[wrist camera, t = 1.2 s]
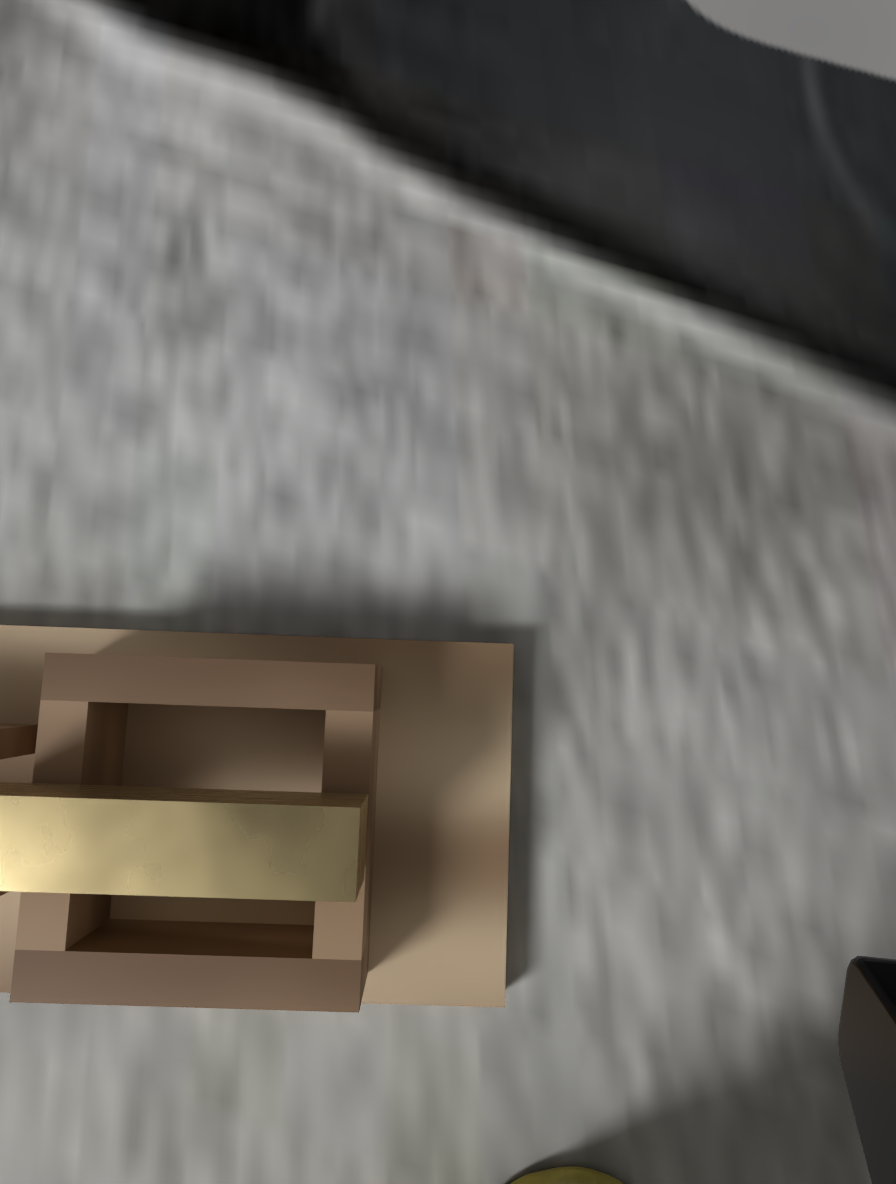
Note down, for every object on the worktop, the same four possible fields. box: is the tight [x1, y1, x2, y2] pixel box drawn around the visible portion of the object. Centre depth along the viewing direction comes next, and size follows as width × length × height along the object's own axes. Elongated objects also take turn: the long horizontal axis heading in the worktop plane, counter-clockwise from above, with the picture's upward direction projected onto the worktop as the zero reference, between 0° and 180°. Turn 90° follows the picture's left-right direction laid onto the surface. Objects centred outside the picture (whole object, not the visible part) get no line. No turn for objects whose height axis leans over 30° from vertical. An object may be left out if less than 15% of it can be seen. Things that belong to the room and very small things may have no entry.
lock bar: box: [0, 782, 368, 902], centre depth 17 cm, size 2×9×2 cm, turn 88°
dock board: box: [0, 625, 514, 1012], centre depth 20 cm, size 10×24×4 cm, turn 88°
